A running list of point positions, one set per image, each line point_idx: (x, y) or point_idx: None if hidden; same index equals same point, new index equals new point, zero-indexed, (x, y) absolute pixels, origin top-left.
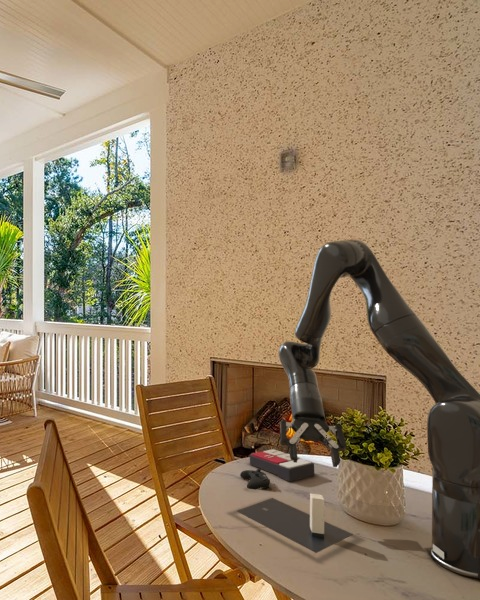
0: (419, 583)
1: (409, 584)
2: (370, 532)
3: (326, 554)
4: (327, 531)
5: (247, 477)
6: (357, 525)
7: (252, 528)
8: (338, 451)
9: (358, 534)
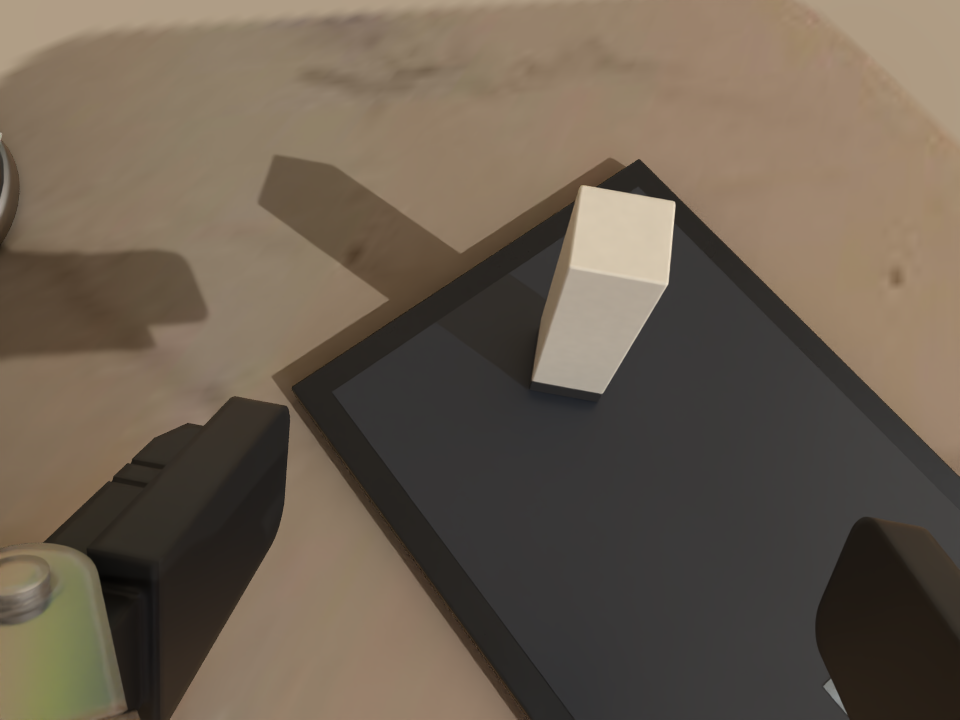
0: (244, 70)
1: (295, 61)
2: None
3: None
4: (484, 406)
5: None
6: None
7: (935, 442)
8: (46, 540)
9: None
